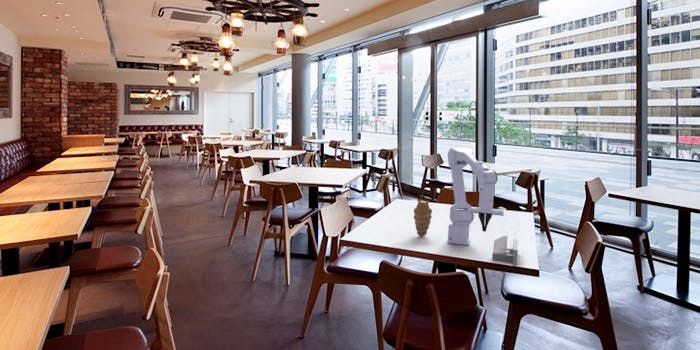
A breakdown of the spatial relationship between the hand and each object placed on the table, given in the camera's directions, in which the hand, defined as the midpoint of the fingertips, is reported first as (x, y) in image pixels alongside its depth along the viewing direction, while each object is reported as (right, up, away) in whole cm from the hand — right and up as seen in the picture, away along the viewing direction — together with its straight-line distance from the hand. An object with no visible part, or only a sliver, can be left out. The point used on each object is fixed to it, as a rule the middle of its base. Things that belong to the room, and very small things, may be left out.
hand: (484, 230), depth 196 cm
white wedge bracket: (+7, -11, -2) cm, 13 cm away
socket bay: (+7, -11, -1) cm, 13 cm away
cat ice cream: (-22, -6, +30) cm, 38 cm away
